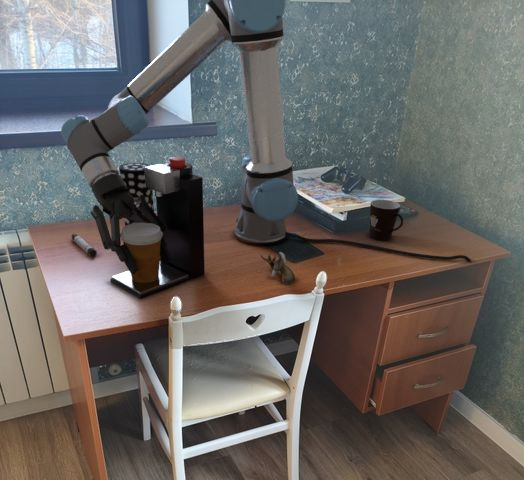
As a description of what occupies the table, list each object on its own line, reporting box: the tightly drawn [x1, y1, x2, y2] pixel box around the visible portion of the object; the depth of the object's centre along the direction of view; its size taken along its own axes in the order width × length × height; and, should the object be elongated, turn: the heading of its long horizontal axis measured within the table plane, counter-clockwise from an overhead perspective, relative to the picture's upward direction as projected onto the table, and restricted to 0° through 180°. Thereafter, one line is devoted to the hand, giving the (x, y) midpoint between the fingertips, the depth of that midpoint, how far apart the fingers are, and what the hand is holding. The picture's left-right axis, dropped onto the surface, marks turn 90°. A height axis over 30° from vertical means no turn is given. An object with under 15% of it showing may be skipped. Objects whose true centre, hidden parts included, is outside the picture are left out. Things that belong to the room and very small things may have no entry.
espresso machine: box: [109, 163, 192, 300], centre depth 123 cm, size 12×15×26 cm
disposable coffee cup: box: [120, 223, 163, 283], centre depth 125 cm, size 10×10×12 cm
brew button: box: [168, 156, 186, 168], centre depth 122 cm, size 4×4×2 cm
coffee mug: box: [368, 199, 404, 242], centre depth 158 cm, size 12×9×10 cm
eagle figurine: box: [260, 251, 296, 285], centre depth 133 cm, size 8×7×9 cm
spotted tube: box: [118, 162, 155, 226], centre depth 147 cm, size 8×8×20 cm
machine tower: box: [155, 162, 206, 281], centre depth 129 cm, size 12×6×26 cm, turn 47°
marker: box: [71, 233, 98, 258], centre depth 145 cm, size 15×2×2 cm, turn 37°
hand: (152, 266), depth 124 cm, fingers closed on disposable coffee cup, 9 cm apart
